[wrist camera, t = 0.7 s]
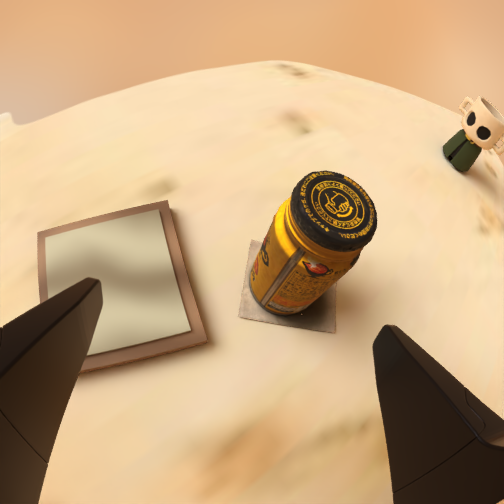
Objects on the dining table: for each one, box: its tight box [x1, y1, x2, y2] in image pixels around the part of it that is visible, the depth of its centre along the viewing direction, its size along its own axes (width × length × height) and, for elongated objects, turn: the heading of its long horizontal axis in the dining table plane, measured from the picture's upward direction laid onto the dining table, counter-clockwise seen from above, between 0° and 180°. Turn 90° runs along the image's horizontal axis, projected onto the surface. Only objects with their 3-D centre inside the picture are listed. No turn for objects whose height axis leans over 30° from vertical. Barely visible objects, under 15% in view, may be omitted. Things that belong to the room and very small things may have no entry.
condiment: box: [238, 171, 377, 333], centre depth 22 cm, size 7×8×12 cm
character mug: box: [443, 96, 504, 171], centre depth 38 cm, size 11×7×13 cm, turn 26°
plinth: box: [38, 200, 207, 373], centre depth 23 cm, size 13×13×2 cm
